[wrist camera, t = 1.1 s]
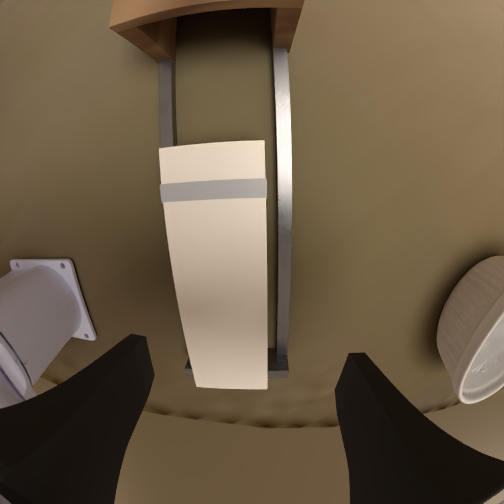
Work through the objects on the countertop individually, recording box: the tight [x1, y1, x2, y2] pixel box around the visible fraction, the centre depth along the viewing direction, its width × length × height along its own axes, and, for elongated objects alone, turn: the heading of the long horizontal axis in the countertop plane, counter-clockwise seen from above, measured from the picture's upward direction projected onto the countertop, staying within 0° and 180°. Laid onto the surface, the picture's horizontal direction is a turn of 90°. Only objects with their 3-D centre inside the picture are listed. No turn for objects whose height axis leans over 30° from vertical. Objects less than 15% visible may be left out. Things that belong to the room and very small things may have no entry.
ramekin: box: [437, 256, 504, 404], centre depth 16 cm, size 13×13×7 cm
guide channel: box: [159, 48, 292, 378], centre depth 16 cm, size 8×22×2 cm, turn 2°
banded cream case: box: [159, 140, 267, 389], centre depth 15 cm, size 5×14×5 cm, turn 2°
